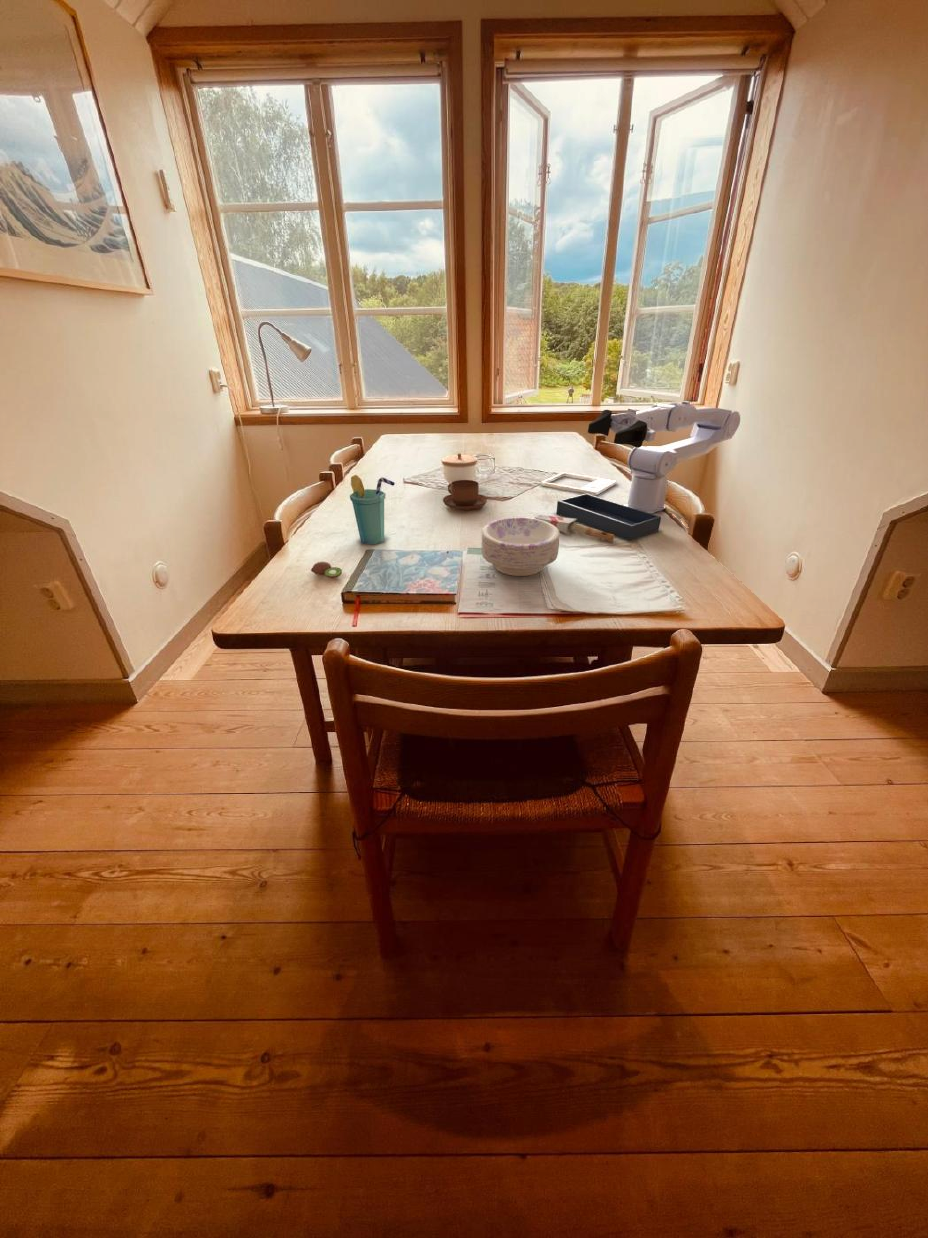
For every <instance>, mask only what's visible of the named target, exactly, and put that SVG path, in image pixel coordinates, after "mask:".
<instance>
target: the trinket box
mask: <svg viewBox="0 0 928 1238" xmlns="http://www.w3.org/2000/svg"><path fill="white" fill-rule="evenodd" d="M441 467H442V469H441V470H442V474H443V478H444V480H445V481H446V482H447V484H448V485H449V484H451V483H452V482H454V481H458V480H472V481H475V478H476V476H477V469H478V458H477V457H475V456H473V455H468V454H467V455H465V454H462V453H461V452H458V453H457V454H455V455H447V456H444V457H442V459H441Z"/></svg>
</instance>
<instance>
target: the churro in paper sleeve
mask: <svg viewBox="0 0 928 1238" xmlns="http://www.w3.org/2000/svg"><path fill="white" fill-rule="evenodd" d="M534 519H538V520H542V521H545V522H548V523H550V524H552V525H554V526H555V527H556V528H557V529H558V530H559V532H562V533H564V534H566V535H569V534H570V533H572V532H575V533H579V534H582V535H584V536H588V537H591V538H596V539H599V540H604V541H605V542H608V543H613V542H614V541H615V536H614V535H613V534H610V533H606V532H603V531H600V530H598V529H595V528H592V527H590V526H587V525H583V524H580V523H579V524H578V523H576V520H577V519H573V518H565V517H563V516H554V515H553V516H552V515H545V514H539V515H537V516H536V517H534Z"/></svg>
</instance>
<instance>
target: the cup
mask: <svg viewBox="0 0 928 1238" xmlns="http://www.w3.org/2000/svg"><path fill="white" fill-rule="evenodd" d="M383 483H384V484H388V485H390V486H392V487H394V486H395V484H396V483H395V481H393V480H391V479H389V478H385V477H383V476H381V477H379V479H378V480H377V483H376V489H370V488H366V489H365V486H364V484H363V481H362V479H361V477H359V475H358V474H354V475H352V476H351V477H350V486H351V489H352V493H351V494H350V495H349V499H350V501H351V502H352V507H353V513H354V517H355V522H356V524H357V531H358V534H359V539H360V542H361V543H363V544H364V545H376V544H380V543H382V542H383V541H384V540H385V499H386V492H384V491H382V490H381V488H382V484H383Z"/></svg>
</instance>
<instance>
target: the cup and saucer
mask: <svg viewBox="0 0 928 1238" xmlns="http://www.w3.org/2000/svg"><path fill="white" fill-rule="evenodd" d="M479 487H480V484H479V482H478V481H476V480H473V481H472V480H458V481H454V482H452V483H451V484H449V483H448V485H447V491H448V495H445V496H444V497H443V498H442V503H443V504H444V505H445V507H448V508H451V509H453V510H458V511H459V510H460V511H469V510H476V509H480V508H482V507H484V506H485V505H486V504H487V502H488V498H487V497H486V496H485V495H482V494H480V493H479Z"/></svg>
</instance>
